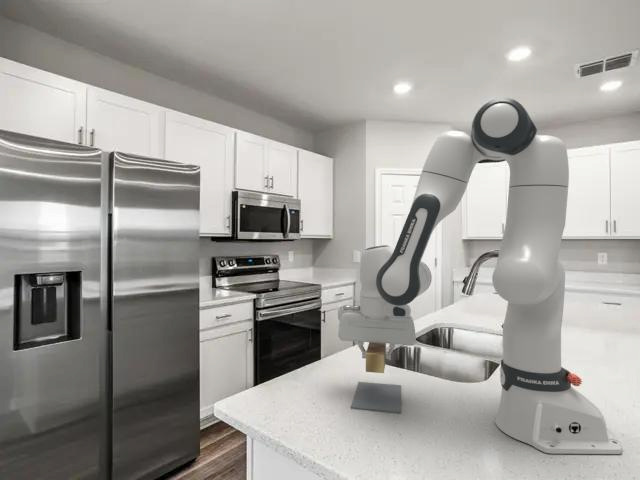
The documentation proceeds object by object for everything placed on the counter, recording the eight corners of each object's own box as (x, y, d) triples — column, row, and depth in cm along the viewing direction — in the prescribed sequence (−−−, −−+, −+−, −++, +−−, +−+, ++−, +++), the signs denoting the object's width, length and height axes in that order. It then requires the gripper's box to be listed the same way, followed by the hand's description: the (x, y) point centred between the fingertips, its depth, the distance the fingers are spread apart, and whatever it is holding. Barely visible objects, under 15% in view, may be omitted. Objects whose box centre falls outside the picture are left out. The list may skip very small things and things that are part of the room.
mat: (400, 386, 102) (400, 385, 102) (400, 413, 86) (400, 411, 86) (358, 383, 104) (358, 381, 104) (351, 408, 89) (351, 406, 89)
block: (386, 341, 101) (383, 355, 89) (386, 357, 101) (383, 373, 89) (369, 340, 102) (365, 353, 90) (369, 356, 102) (365, 371, 90)
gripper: (335, 307, 94) (335, 359, 94) (416, 310, 90) (416, 365, 90) (339, 302, 100) (339, 352, 101) (415, 306, 96) (415, 357, 96)
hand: (376, 358), depth 95 cm, fingers closed on block, 4 cm apart
